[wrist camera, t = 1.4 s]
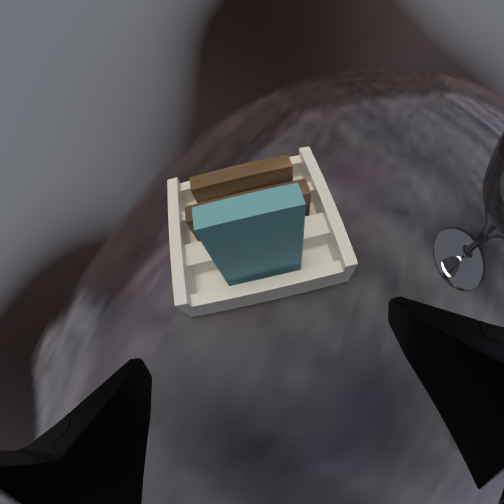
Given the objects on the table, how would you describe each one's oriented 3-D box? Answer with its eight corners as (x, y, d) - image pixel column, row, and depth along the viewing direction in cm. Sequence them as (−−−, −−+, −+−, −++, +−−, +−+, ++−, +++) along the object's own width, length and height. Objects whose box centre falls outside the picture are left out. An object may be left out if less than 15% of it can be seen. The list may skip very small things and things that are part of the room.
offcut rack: (348, 281, 24) (357, 263, 20) (191, 317, 24) (174, 306, 20) (307, 172, 29) (309, 146, 25) (180, 202, 29) (167, 180, 26)
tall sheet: (300, 272, 23) (305, 204, 14) (230, 288, 24) (194, 230, 15) (296, 256, 24) (297, 182, 15) (227, 272, 24) (191, 207, 15)
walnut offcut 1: (293, 193, 27) (292, 166, 23) (202, 214, 27) (190, 190, 24) (289, 181, 28) (288, 154, 24) (201, 202, 28) (189, 177, 24)
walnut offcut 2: (308, 222, 25) (311, 192, 21) (201, 247, 26) (185, 222, 22) (304, 208, 26) (305, 178, 22) (199, 233, 26) (184, 206, 22)
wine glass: (422, 274, 23) (514, 173, 9) (437, 211, 25) (499, 106, 12) (481, 306, 20) (585, 237, 7) (490, 243, 23) (566, 159, 9)
